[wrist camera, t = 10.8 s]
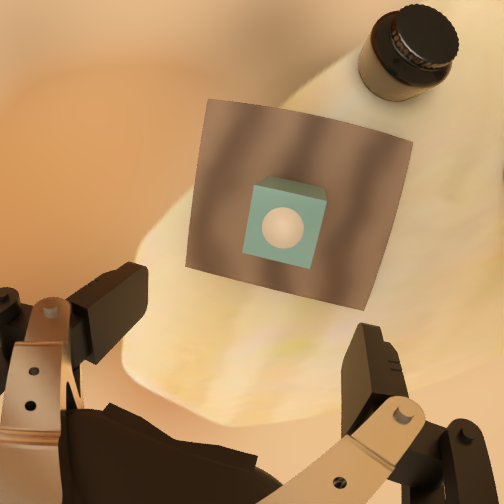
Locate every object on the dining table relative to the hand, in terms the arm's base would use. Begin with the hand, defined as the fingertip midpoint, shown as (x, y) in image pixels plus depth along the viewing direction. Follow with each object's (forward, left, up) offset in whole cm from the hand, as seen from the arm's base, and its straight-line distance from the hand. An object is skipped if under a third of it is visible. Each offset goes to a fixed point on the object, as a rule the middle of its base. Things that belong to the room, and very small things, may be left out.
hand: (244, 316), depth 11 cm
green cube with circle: (0, 0, -19) cm, 19 cm away
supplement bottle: (-7, -16, -22) cm, 28 cm away
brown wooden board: (0, 0, -22) cm, 22 cm away
